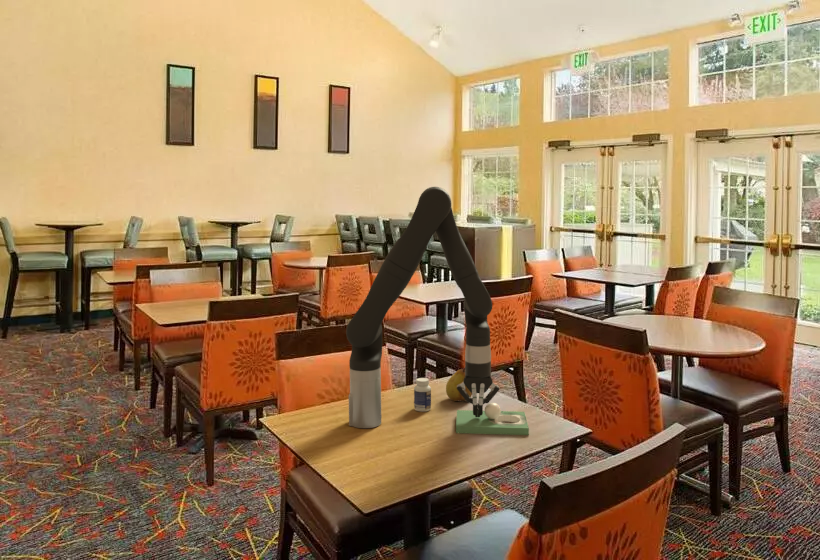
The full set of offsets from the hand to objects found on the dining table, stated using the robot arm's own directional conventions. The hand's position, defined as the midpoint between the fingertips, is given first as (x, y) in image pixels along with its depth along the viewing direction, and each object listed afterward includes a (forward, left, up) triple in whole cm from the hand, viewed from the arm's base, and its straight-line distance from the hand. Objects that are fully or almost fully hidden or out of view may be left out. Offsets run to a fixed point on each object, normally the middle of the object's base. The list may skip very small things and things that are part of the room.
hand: (477, 416), depth 186 cm
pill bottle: (-17, +13, -3) cm, 22 cm away
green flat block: (+4, 0, -3) cm, 5 cm away
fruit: (-6, +23, -3) cm, 24 cm away
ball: (+4, 0, +2) cm, 5 cm away
